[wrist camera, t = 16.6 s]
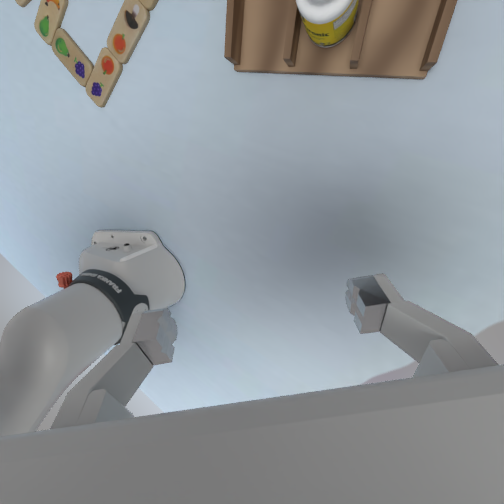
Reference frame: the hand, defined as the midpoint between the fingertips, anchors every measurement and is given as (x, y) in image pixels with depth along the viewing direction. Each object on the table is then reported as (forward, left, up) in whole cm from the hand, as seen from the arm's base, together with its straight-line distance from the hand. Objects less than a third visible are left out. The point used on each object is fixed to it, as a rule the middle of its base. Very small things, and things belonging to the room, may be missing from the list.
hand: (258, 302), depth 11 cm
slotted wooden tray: (-3, +20, -28) cm, 34 cm away
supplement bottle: (-3, +19, -27) cm, 33 cm away
